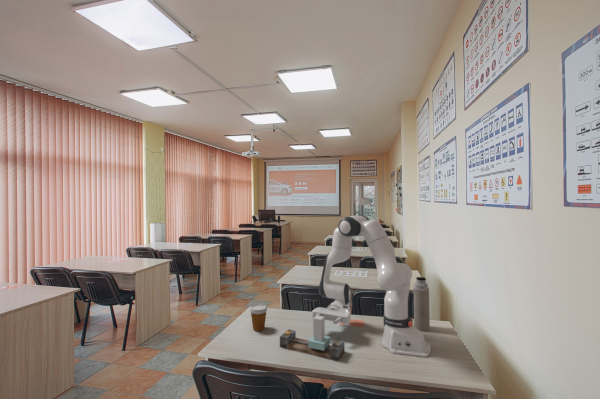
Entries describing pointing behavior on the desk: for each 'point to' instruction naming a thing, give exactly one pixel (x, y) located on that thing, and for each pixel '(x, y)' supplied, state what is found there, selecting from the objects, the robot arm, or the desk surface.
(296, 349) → the rail
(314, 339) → the block
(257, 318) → the disposable coffee cup
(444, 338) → the desk surface
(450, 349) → the desk surface
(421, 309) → the thermos bottle
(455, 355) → the desk surface
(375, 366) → the desk surface
